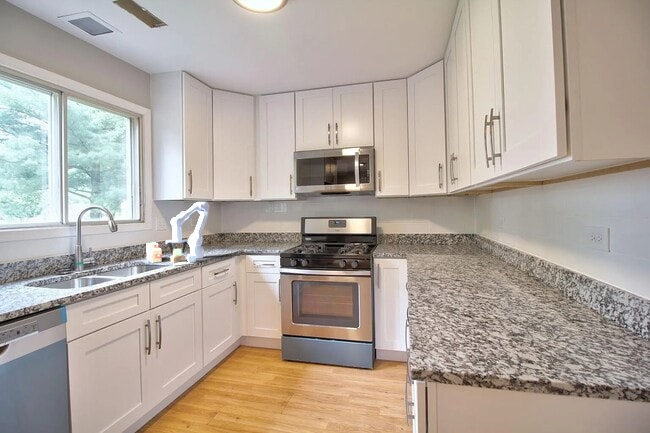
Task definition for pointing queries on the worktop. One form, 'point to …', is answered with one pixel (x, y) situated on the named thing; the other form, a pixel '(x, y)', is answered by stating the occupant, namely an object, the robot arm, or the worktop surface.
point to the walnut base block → (177, 259)
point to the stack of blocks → (154, 252)
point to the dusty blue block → (191, 258)
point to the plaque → (181, 264)
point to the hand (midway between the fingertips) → (177, 252)
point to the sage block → (177, 252)
